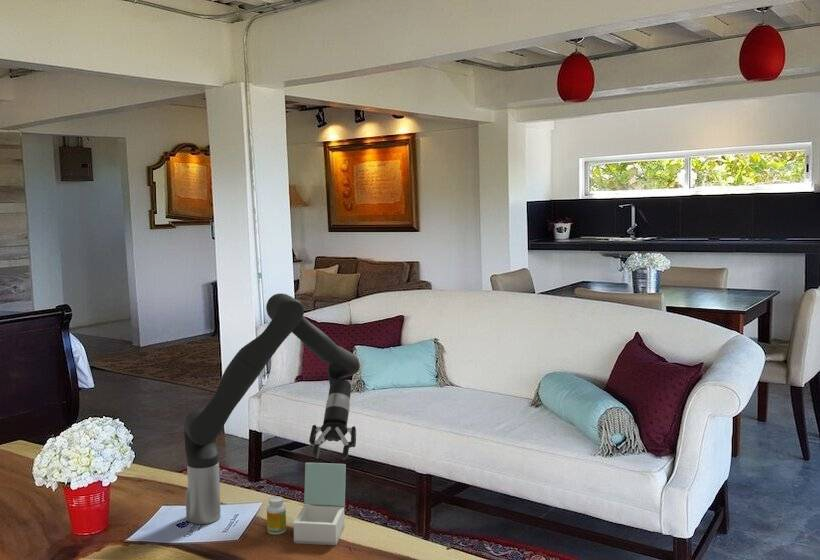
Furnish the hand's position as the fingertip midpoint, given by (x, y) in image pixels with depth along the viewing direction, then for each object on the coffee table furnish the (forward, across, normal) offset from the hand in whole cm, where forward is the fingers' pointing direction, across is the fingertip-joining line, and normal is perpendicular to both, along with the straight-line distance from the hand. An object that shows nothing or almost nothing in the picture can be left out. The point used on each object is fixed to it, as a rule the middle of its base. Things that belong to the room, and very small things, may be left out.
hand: (330, 458), depth 230 cm
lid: (+9, 0, -2) cm, 10 cm away
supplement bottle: (+22, -13, +2) cm, 26 cm away
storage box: (+23, 0, +1) cm, 23 cm away
